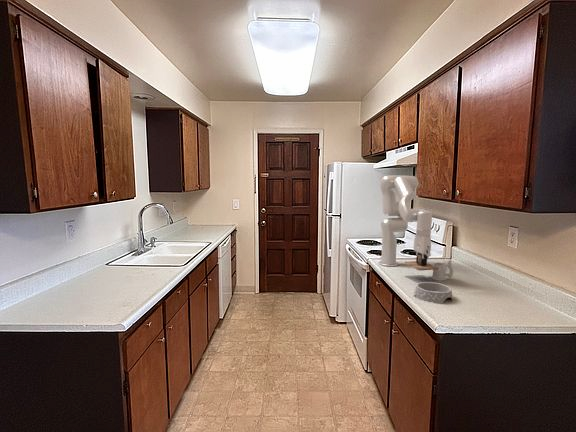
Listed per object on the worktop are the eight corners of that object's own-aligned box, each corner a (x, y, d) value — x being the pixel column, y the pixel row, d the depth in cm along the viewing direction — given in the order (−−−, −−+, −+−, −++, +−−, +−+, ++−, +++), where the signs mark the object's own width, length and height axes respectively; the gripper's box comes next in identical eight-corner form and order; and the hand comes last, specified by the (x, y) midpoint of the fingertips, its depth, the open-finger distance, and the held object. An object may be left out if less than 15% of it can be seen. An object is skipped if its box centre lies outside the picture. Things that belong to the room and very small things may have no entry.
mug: (429, 278, 200) (430, 258, 198) (448, 278, 200) (449, 258, 199) (435, 282, 192) (436, 261, 191) (455, 282, 193) (457, 261, 192)
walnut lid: (404, 263, 200) (405, 252, 199) (423, 262, 203) (423, 251, 202) (419, 270, 187) (419, 258, 186) (438, 269, 189) (439, 257, 188)
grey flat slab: (404, 277, 201) (404, 276, 201) (422, 276, 204) (422, 274, 204) (420, 286, 186) (420, 284, 186) (439, 284, 189) (439, 283, 188)
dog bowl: (460, 299, 167) (461, 288, 166) (435, 306, 158) (436, 294, 157) (430, 289, 182) (431, 279, 181) (406, 295, 173) (406, 284, 172)
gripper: (409, 230, 199) (407, 260, 202) (426, 236, 183) (424, 269, 186) (420, 229, 201) (418, 260, 204) (439, 235, 185) (436, 268, 187)
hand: (421, 264), depth 195 cm, fingers closed on walnut lid, 4 cm apart
